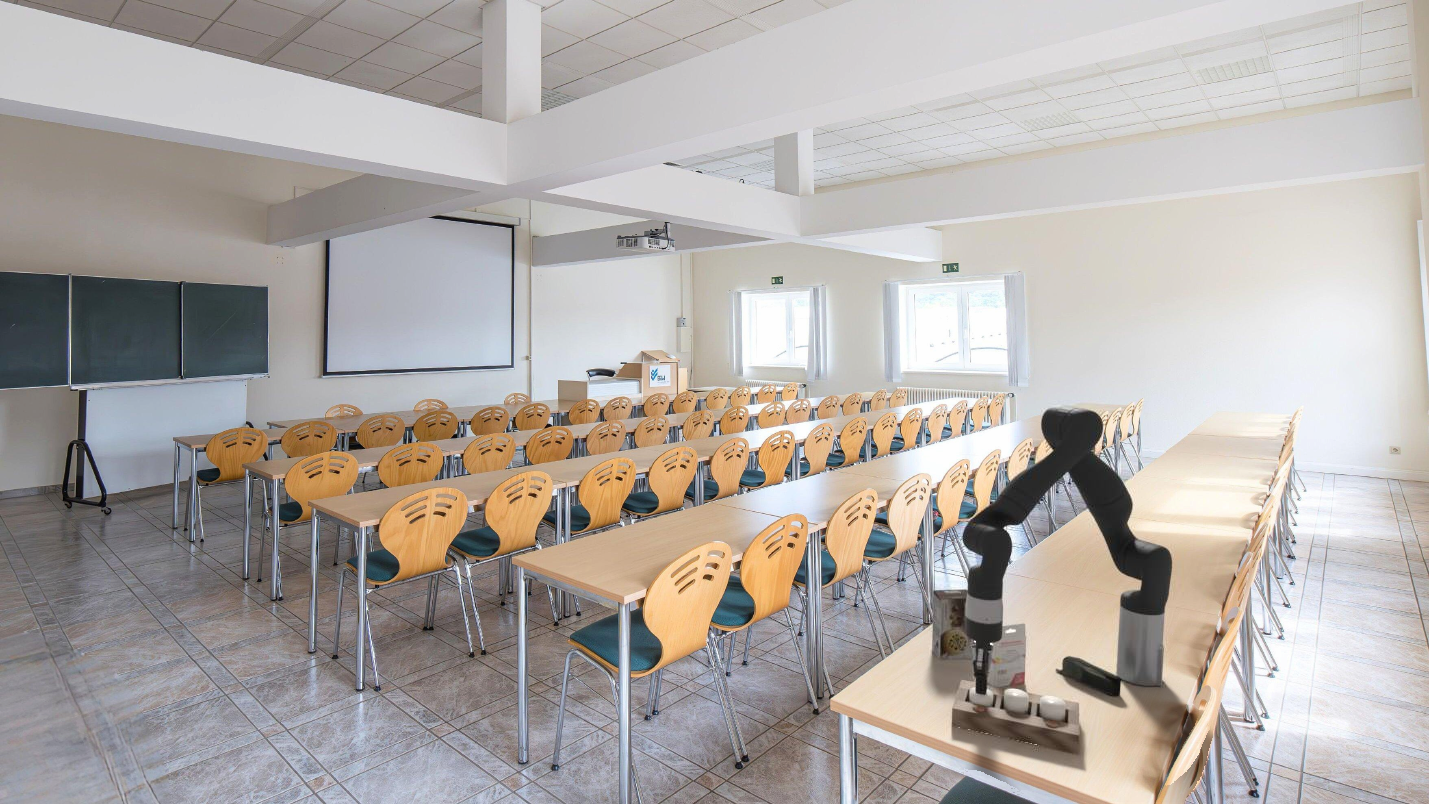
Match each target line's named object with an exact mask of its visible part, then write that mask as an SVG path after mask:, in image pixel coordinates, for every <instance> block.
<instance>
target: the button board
mask: <svg viewBox="0 0 1429 804" xmlns="http://www.w3.org/2000/svg"><path fill="white" fill-rule="evenodd" d="M974 687H976V681H971V680H966V679H961V680H960V683H959V686H958V688H957V692H956V695H955V697H954V698H955V699H954V701H953V704H952V708H951V709H952V710H951V727H953V726H954V727H955V728H958V727H960V728H959V729H962V728H964V729H963V730H967V729H970V730H969V731H971V730H973V731H972V732H975V731H978V732H977V733H980V732H983V733H982V734H984V733H988V734H987V735H989V734H992V735H991V736H993V735H995V736H994V737H998V736H1000V737H999V738H1002V737H1003V739H1006V738H1009V739H1008V740H1011V739H1014V740H1013V741H1015V740H1019V741H1018V742H1020V741H1023V742H1022V743H1024V742H1028V743H1027V744H1029V743H1032V744H1031V745H1033V744H1037V745H1036V746H1038V745H1039V746H1038V747H1042V746H1043V747H1042V748H1046V749H1047V748H1048V749H1051V750H1056V751H1059V752H1065V753H1069V754H1074V755H1078V756H1079V754H1080V753H1079V751H1080V749H1079V748H1080V702H1076V701H1071V700H1066V699H1062V700H1063V701H1065V703H1066V709H1065V722H1060V721H1055V720H1050V719H1046V718H1041V717H1040V698H1041V697H1043V696H1044V695H1041V694H1036V693H1031V692H1026V691H1025V692H1026V693H1027V694H1028V695H1029V705H1028V715H1027V714H1022V713H1017V712H1012V711H1008V710H1004V691H1005V690H1007V689H1008V688H1005V687H996V686H992V685H990V684H987V689H988V690H990V691H991V692H992V693H993V707H989V706H984V705H979V704H974V703H969V693H970V689H971V688H974Z"/></svg>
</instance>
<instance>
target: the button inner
mask: <svg viewBox="0 0 1429 804" xmlns="http://www.w3.org/2000/svg"><path fill="white" fill-rule="evenodd" d="M1042 696H1043V697H1041V698H1040V717H1041V718H1046V719H1050V720H1055V721H1060V722H1065V709H1066V703H1065V701H1063V700H1064V699H1061V698H1060V697H1057V696H1053V695H1042Z"/></svg>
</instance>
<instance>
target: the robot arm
mask: <svg viewBox="0 0 1429 804" xmlns="http://www.w3.org/2000/svg"><path fill="white" fill-rule="evenodd" d="M1040 425H1041V426H1040V428H1041V433H1042V435H1043V438H1044V440H1045V441H1046V443H1047V444H1048V446H1049V447H1050V448H1051V450H1052V451H1051V452H1050V453H1048V454H1047V455H1046V456H1045V457H1043V458H1042V459H1040V460H1039V461H1038V462H1036V463H1034V464H1033V465H1031V466H1029V467H1027V468H1026V469H1024V470H1022V471H1021V472H1019V473H1017V474H1016V475H1015V476H1014V477H1013V478H1012V479H1011V480H1009V482H1008V483H1007V484H1006V485H1005V487H1004V488H1003V490H1001V492H1000V494H998V496H997V498H996V499H995V500H994V501H993V502H992V503H991V504H989V505H988V506H986V507H985V508H983V509H982V510H981V511H980V512H978V513H977V514H976V515H975V516H974V517H972V518H971V519H970V520H969V521H968V522H967V524H966V525H965V527H964V529H963V532H962V536H961V537H962V538H961V539H962V544H963V545H964V546H965V548H966V549H967V550H969V551H970V552H972V553H975V554H977V555H979V556H981V561H980V564H975V565H972V566H970V568H969V570H968V573H967V589H966V590H967V592H968V593H967V599H966V612H965V634H966V636H967V637H969V638H970V639H973V640H974V646H972V654H973V658H972V669H973V677H974V679H975V682H976V687H975V692H976V693H977V694H982V695H986V692H987V685H988V683H987V677H988V674H989V672H988V670H989V669H990V665H991V659H992V652H993V644H991V642H992V643H994V642H998V641H1000V640H1001V639H1002V626H1004V625H1003V624H1004V622H1003V620H1004V601H1003V589H1004V577H1005V574H1006V572H1007V568H1008V565H1009V562H1010V559H1011V556H1012V553H1013V540H1012V538H1011V535H1010V533H1009V532H1008V531H1007V530H1006V529H1005V528H1006V527H1008V526H1020V525H1021V524H1023V522H1024V521H1025V520H1026V519H1027V518H1028V517H1029V515H1030V514H1031V513H1032V512H1033V510H1034V509H1035V507H1036V506H1037V505H1038V503H1039V502H1040V501H1041V500H1042V498H1043V497H1044V496H1045V495H1046V493H1047V492H1048V491H1049V490H1050V489H1051V488H1053V486H1055V484H1056V483H1057V482H1059V480H1060V479H1062V478H1063V477H1064V476H1065V475H1066V474H1067V473H1068V475H1069V477H1070V478H1071V480H1072V482H1073V483H1074V485H1075V487H1076V488H1077V490H1078V492H1079V494H1080V496H1081V499H1082V500H1083V502H1084V504H1085V506H1086V507H1087V510H1088V512H1089V513H1090V514H1091V516H1092V518H1093V519H1094V521H1095V523H1096V524H1097V527H1098V529H1099V531H1100V532H1101V535H1102V536H1103V538H1104V541H1105V544H1106V546H1107V549H1108V552H1109V555H1110V556H1111V559H1112V561H1113V564H1114V565H1115V567H1116V569H1117V570H1118V571H1119V572H1120V573H1121V574H1123V575H1125V576H1127V577H1129V578H1131V579H1132V578H1133V579H1135V580H1139V581H1141V585H1140V589H1131V590H1126V591H1124V592H1122V593H1121V595H1120V599H1119V600H1120V602H1119V619H1118V634H1117V637H1118V638H1117V652H1116V653H1117V654H1116V665H1115V666H1116V671H1115V672H1116V676H1118V677H1120V678H1121V680H1123V681H1124V682H1127V683H1130V684H1133V685H1137V686H1143V687H1144V686H1145V687H1155V686H1158V687H1163V686H1162V685H1163V672H1164V671H1163V670H1164V655H1165V654H1164V653H1165V652H1164V651H1165V646H1164V631H1165V630H1164V629H1165V613H1166V605H1167V602H1168V599H1169V595H1170V587H1171V578H1172V572H1173V558H1172V557H1173V556H1172V554H1171V552H1170V550H1169V549H1168V548H1167V547H1165V546H1163V545H1160V544H1156V543H1153V542H1149V541H1145V540H1142V539H1139V538H1137V537H1136V536H1135V535H1134V533H1133V532H1132V530H1131V529H1130V526H1129V523H1128V522H1129V520H1130V518H1131V516H1132V513H1133V508H1134V506H1133V505H1134V503H1133V499H1132V496H1131V494H1130V493H1129V491H1128V488H1127V487H1126V485H1125V483H1124V481H1123V480H1122V478H1121V477H1120V475H1119V474H1118V473H1117V472H1116V471H1115V470H1114V469H1113V468H1112V467H1111V466H1109V465H1108V464H1107V463H1106V462H1105V461H1104V460H1102V459H1101V458H1100V457H1099V456H1098V455H1097V454H1095V452H1093V451H1092V450H1093V449H1094V448H1095V447H1096V445H1097V444H1098V443H1099V442H1100V440H1101V438H1102V436H1103V432H1104V422H1103V419H1102V417H1101V415H1100V414H1098V413H1097V412H1096V411H1094V410H1092V409H1087V408H1083V407H1082V408H1081V407H1076V406H1070V405H1065V404H1064V405H1059V404H1058V405H1057V404H1056V405H1053V406H1050V407H1048V408H1047V409H1046V410H1045V411H1044V412H1043V415H1042V417H1041V422H1040Z"/></svg>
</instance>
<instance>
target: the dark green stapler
mask: <svg viewBox="0 0 1429 804" xmlns="http://www.w3.org/2000/svg"><path fill="white" fill-rule="evenodd" d="M1061 663H1062V665H1061V666H1062V669H1059V668H1055V672H1057V673H1059V674H1061V675H1064V676H1066V677H1069V678H1070V679H1073V680H1075V681H1076V682H1079V683H1081V684H1083V685H1085V686H1088V687H1090V688H1091V689H1094V690H1096V691H1099V692H1100V693H1102V694H1105V695H1108V696H1110V697H1118V696H1120V695H1121V686H1122V685H1121V684H1122V679H1121V678H1120V677H1119V676H1118V675H1117V674H1113V673H1112V672H1109V671H1107V670H1105V669H1103V668H1101V667H1099V666H1096V665H1094V664H1092V663H1090V662H1088V661H1086V660H1084V659H1083V658H1080V657H1076V656H1071V655H1068V656H1065V657H1064V658H1063V659H1062V662H1061Z"/></svg>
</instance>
